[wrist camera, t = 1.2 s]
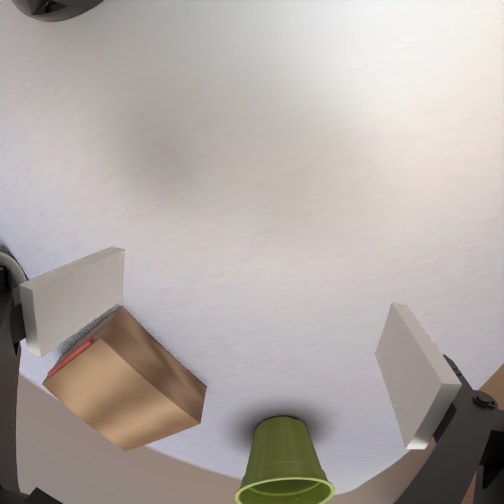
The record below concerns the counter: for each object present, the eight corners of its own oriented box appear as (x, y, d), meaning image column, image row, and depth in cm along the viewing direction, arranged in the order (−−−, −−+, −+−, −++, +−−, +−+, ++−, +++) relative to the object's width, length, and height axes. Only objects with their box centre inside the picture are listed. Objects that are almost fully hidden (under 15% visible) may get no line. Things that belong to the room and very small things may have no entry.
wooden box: (58, 354, 36) (38, 382, 30) (119, 303, 32) (97, 334, 27) (134, 420, 40) (123, 451, 34) (206, 386, 37) (200, 423, 31)
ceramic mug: (-20, 271, 32) (-54, 298, 24) (4, 240, 30) (-36, 267, 23) (25, 332, 35) (-3, 366, 28) (54, 310, 33) (23, 347, 26)
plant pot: (220, 429, 40) (213, 497, 29) (287, 391, 37) (294, 467, 26) (275, 460, 43) (278, 520, 32) (338, 428, 40) (353, 492, 29)
